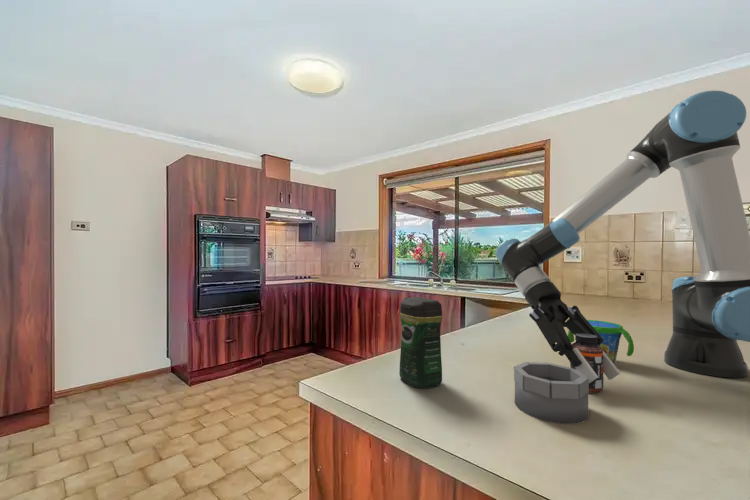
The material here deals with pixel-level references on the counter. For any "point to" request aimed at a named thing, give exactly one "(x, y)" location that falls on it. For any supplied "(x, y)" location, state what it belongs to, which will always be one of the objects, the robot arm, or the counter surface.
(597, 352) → the supplement bottle
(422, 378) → the coffee jar
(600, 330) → the snack cup
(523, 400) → the octagonal grey sleeve
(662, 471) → the counter surface
